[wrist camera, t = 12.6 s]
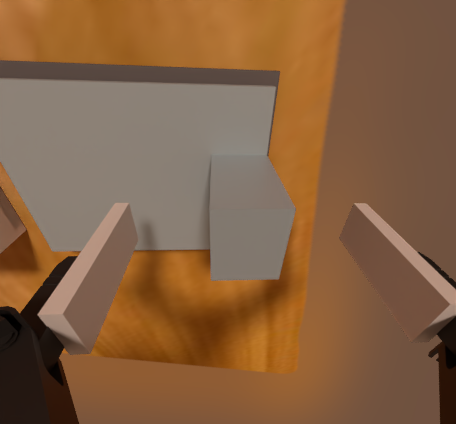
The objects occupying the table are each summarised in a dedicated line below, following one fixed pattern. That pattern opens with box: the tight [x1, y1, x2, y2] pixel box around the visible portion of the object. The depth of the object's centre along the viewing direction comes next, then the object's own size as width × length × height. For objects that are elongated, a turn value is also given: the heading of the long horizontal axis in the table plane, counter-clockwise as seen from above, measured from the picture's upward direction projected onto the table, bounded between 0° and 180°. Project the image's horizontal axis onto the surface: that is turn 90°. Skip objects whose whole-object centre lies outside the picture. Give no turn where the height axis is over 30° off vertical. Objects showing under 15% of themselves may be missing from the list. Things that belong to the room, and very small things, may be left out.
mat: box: [0, 60, 280, 156], centre depth 19 cm, size 20×15×1 cm
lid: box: [0, 78, 296, 281], centre depth 15 cm, size 19×14×9 cm
